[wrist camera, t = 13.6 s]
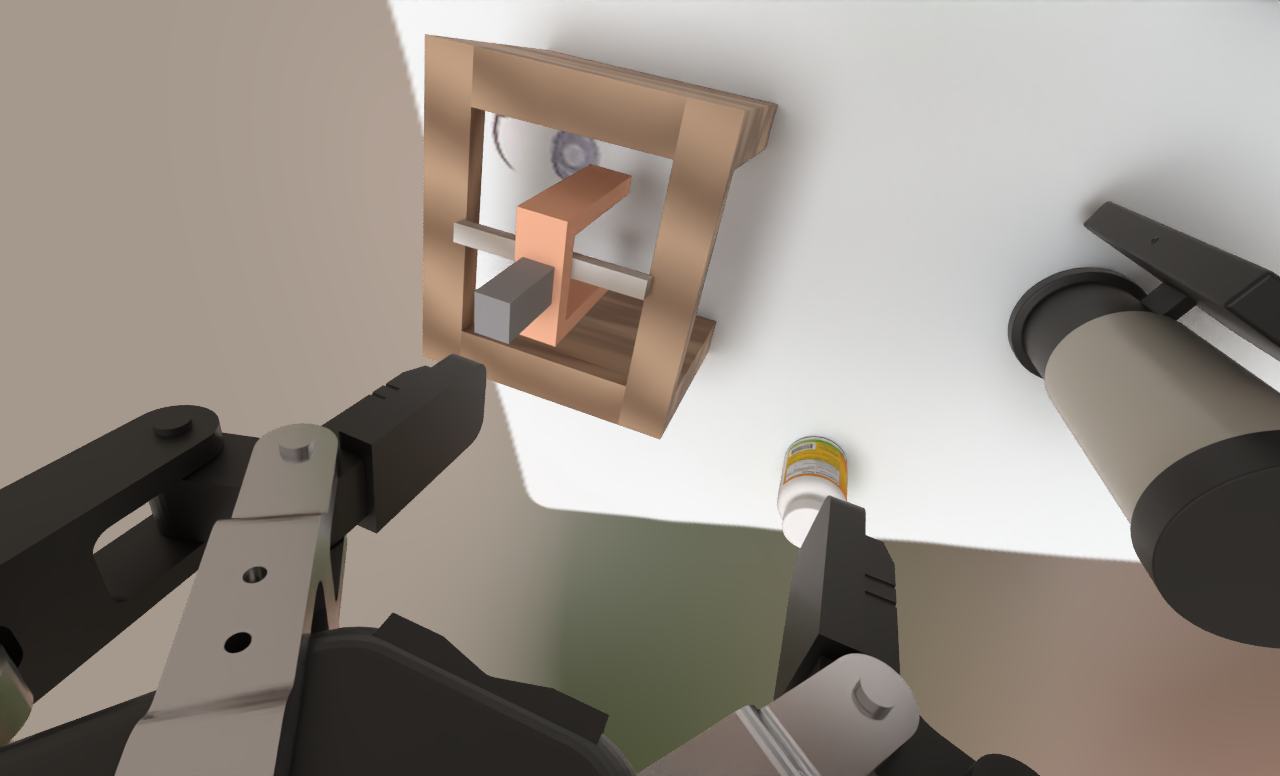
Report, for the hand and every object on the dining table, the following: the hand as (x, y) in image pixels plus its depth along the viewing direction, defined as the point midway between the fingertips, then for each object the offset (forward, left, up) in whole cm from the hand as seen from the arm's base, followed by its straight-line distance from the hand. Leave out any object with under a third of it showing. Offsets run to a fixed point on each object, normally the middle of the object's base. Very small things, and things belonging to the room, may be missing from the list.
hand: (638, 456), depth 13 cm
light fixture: (+2, +22, -37) cm, 43 cm away
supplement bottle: (+21, +9, -37) cm, 43 cm away
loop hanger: (+4, -12, -29) cm, 32 cm away
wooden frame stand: (+4, -12, -36) cm, 38 cm away
